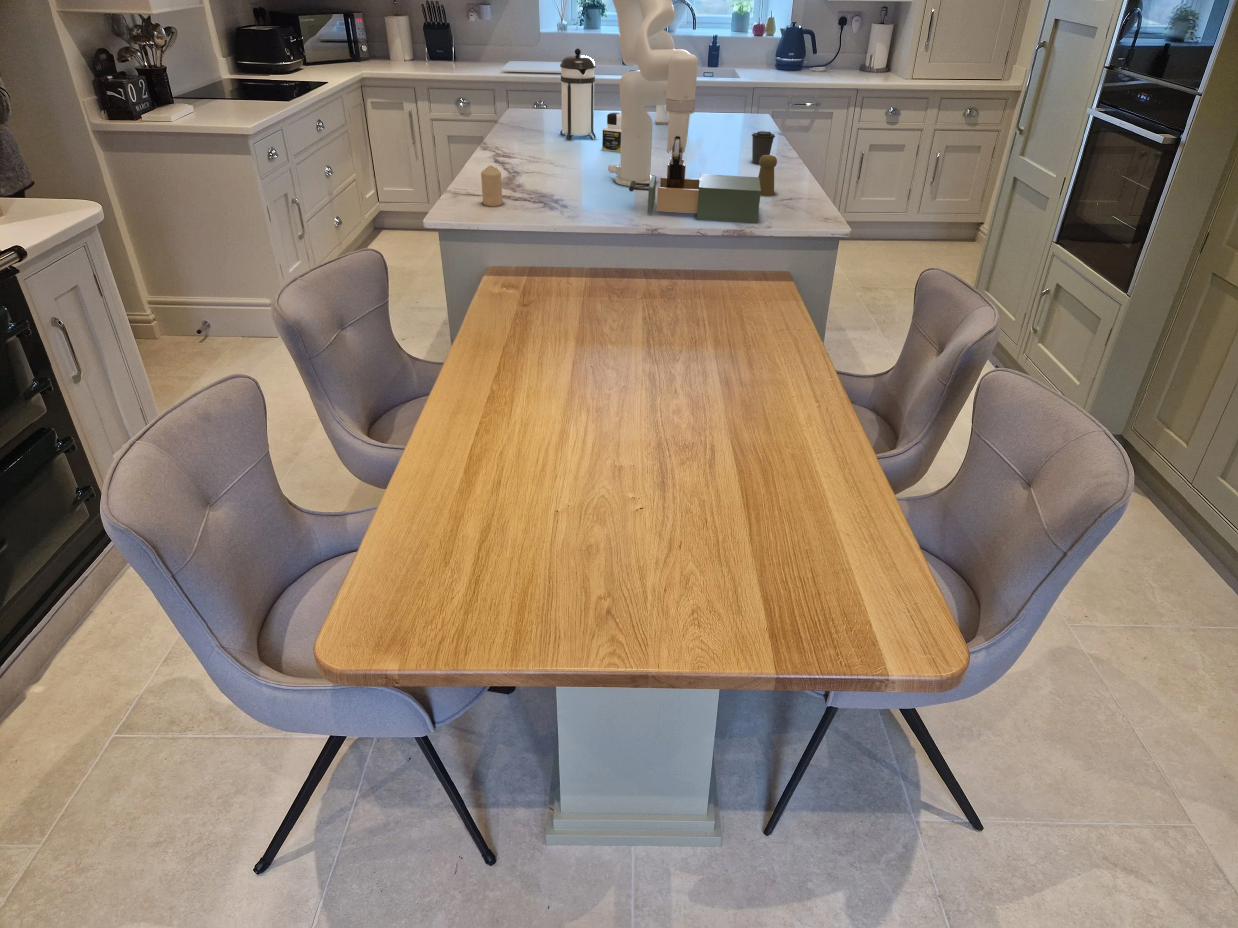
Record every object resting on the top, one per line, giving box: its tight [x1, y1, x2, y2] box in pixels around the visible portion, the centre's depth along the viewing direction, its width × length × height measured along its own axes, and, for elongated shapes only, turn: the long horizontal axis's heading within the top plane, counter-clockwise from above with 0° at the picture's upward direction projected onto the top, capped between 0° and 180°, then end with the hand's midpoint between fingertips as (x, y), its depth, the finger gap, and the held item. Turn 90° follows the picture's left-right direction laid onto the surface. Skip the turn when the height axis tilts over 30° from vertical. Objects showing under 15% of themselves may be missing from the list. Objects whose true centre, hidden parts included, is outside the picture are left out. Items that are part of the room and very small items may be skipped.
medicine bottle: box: [601, 112, 621, 153], centre depth 287 cm, size 7×7×12 cm
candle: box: [480, 165, 503, 207], centre depth 227 cm, size 6×6×10 cm
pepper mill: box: [666, 157, 687, 189], centre depth 225 cm, size 5×5×12 cm
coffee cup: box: [751, 130, 776, 166], centre depth 277 cm, size 8×8×10 cm
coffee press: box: [559, 48, 597, 141], centre depth 299 cm, size 17×16×30 cm
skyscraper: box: [655, 105, 670, 126], centre depth 326 cm, size 8×8×28 cm
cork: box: [757, 154, 778, 197], centre depth 244 cm, size 6×6×11 cm
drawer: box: [628, 174, 700, 214], centre depth 227 cm, size 21×13×7 cm, turn 84°
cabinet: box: [696, 173, 762, 224], centre depth 226 cm, size 17×15×9 cm
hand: (675, 176), depth 224 cm, fingers closed on pepper mill, 5 cm apart
